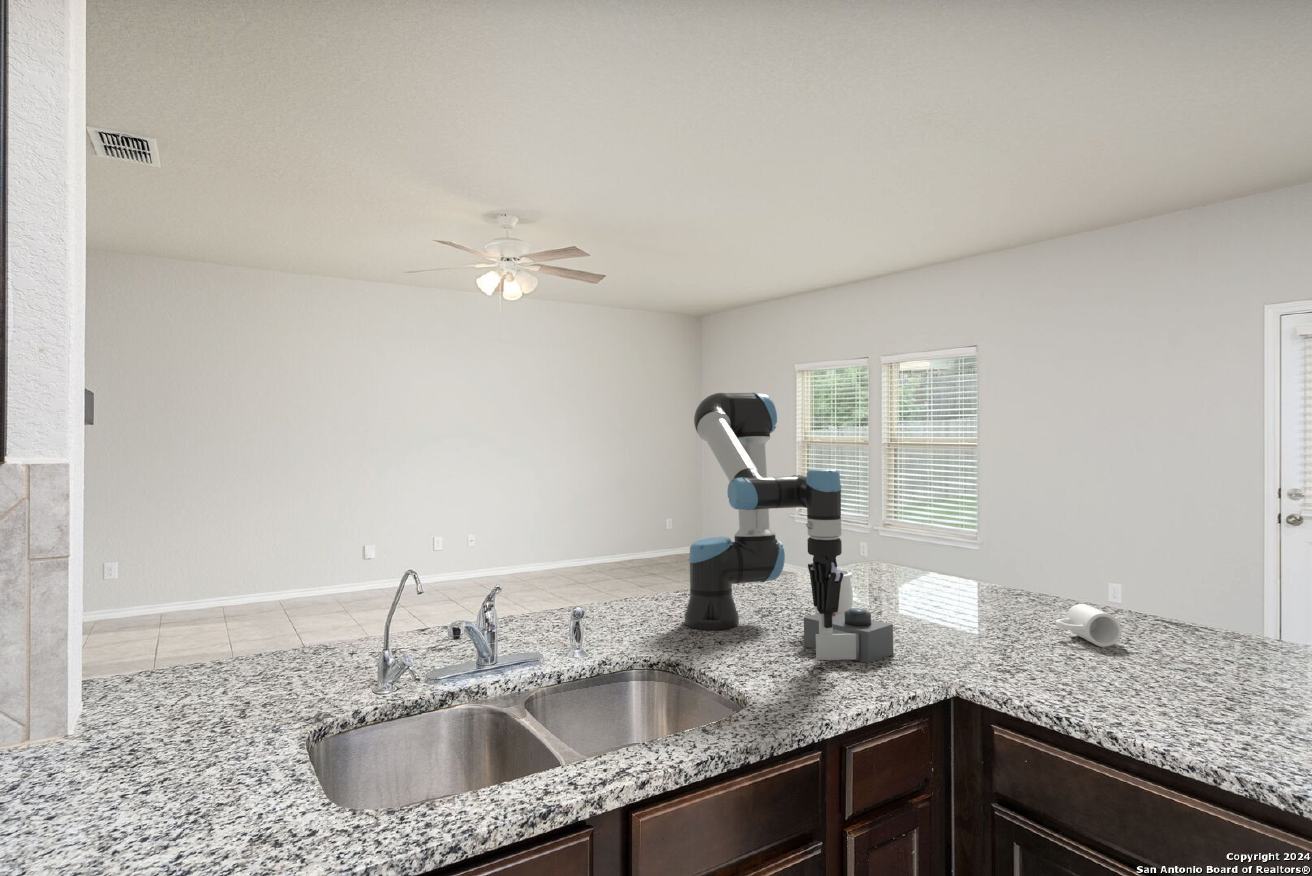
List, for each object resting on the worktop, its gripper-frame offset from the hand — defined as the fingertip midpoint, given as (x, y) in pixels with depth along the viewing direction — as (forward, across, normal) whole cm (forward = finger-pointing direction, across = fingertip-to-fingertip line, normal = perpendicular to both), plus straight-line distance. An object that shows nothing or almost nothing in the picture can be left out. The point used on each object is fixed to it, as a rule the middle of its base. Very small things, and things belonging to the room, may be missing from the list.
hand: (826, 640), depth 152 cm
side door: (+4, +2, +2) cm, 5 cm away
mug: (+5, +3, +67) cm, 67 cm away
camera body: (+5, -6, +8) cm, 11 cm away
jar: (+5, -24, +14) cm, 29 cm away
